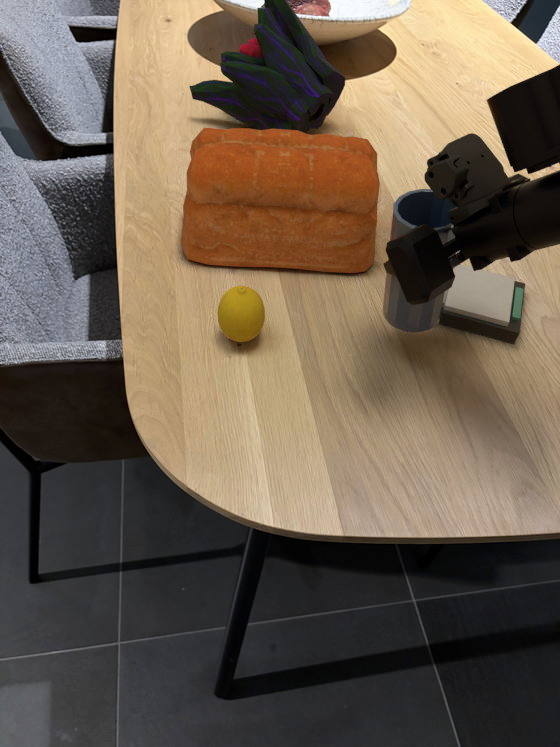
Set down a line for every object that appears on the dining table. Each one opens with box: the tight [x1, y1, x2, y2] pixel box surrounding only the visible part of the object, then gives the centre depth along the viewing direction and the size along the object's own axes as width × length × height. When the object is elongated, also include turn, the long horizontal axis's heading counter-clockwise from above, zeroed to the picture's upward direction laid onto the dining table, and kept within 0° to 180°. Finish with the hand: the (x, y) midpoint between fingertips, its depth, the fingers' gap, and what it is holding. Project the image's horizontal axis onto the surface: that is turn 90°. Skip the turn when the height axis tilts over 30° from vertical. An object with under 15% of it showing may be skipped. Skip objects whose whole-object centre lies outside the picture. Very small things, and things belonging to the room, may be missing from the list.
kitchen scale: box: [437, 263, 526, 345], centre depth 78 cm, size 10×10×3 cm
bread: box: [180, 127, 381, 274], centre depth 81 cm, size 14×27×15 cm, turn 89°
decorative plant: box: [188, 0, 346, 134], centre depth 104 cm, size 21×26×30 cm
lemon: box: [217, 285, 266, 343], centre depth 70 cm, size 6×6×8 cm
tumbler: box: [382, 188, 458, 334], centre depth 64 cm, size 7×7×14 cm
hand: (408, 254), depth 64 cm, fingers closed on tumbler, 7 cm apart
